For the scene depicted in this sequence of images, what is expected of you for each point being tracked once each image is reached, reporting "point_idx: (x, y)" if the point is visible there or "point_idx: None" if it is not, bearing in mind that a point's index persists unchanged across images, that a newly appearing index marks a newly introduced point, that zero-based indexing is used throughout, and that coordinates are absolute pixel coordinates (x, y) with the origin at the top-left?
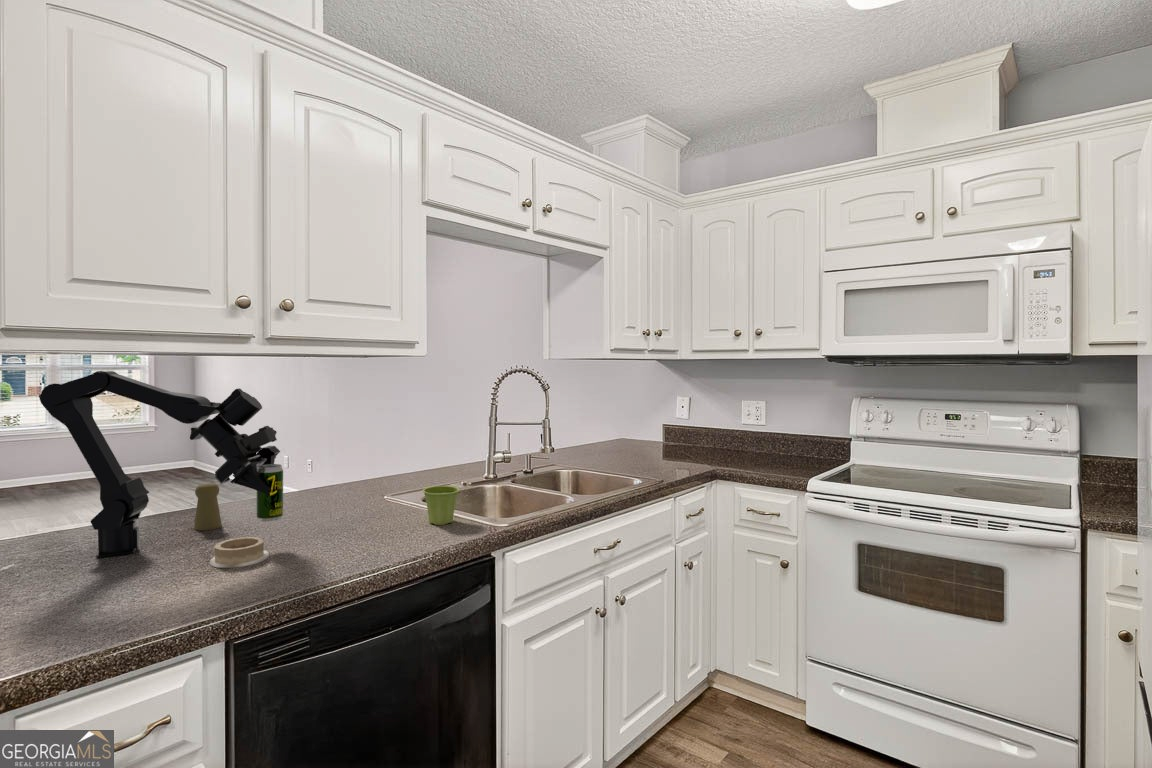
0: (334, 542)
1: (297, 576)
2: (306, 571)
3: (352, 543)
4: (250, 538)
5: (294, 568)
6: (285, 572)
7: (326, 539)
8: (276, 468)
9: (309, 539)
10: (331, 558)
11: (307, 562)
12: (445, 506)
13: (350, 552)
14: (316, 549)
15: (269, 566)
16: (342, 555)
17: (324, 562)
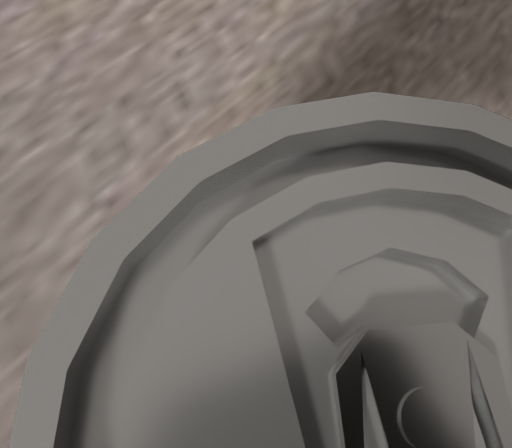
0: (59, 146)
1: (434, 22)
2: (389, 25)
3: (50, 65)
4: None
5: (387, 79)
6: (429, 80)
7: (25, 214)
8: (431, 130)
9: (49, 296)
10: (249, 30)
11: (320, 79)
12: None
13: (162, 7)
14: (177, 152)
15: None
16: (204, 14)
17: (295, 26)
